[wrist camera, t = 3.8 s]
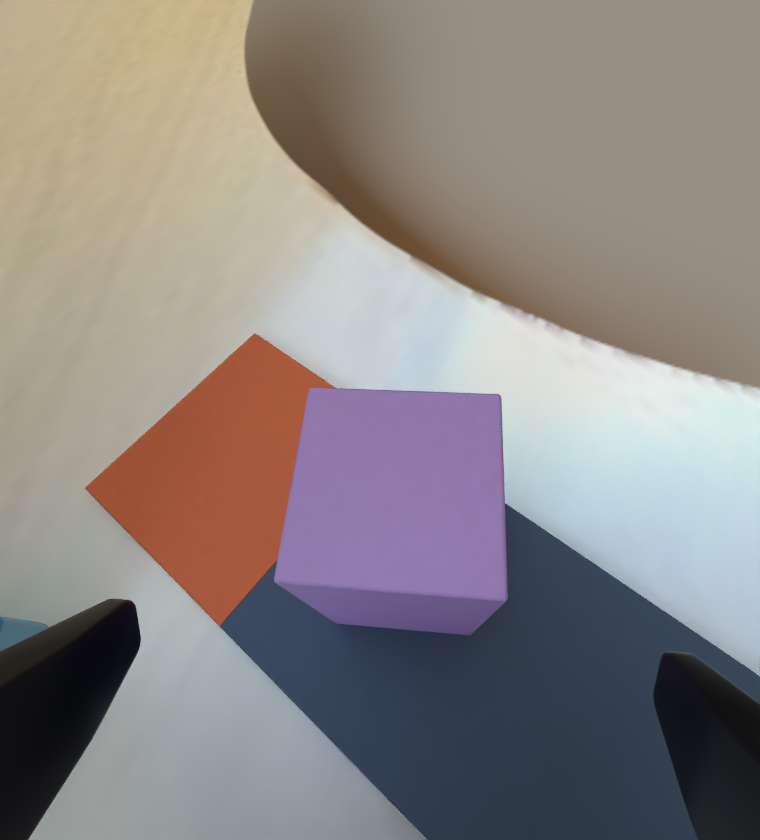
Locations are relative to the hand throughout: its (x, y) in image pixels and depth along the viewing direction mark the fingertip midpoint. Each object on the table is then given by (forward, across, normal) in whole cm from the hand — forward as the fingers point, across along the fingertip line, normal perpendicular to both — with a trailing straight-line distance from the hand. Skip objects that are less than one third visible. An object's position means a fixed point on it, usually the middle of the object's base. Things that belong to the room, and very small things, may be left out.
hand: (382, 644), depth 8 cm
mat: (+9, +1, +5) cm, 11 cm away
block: (+10, 0, +5) cm, 11 cm away
